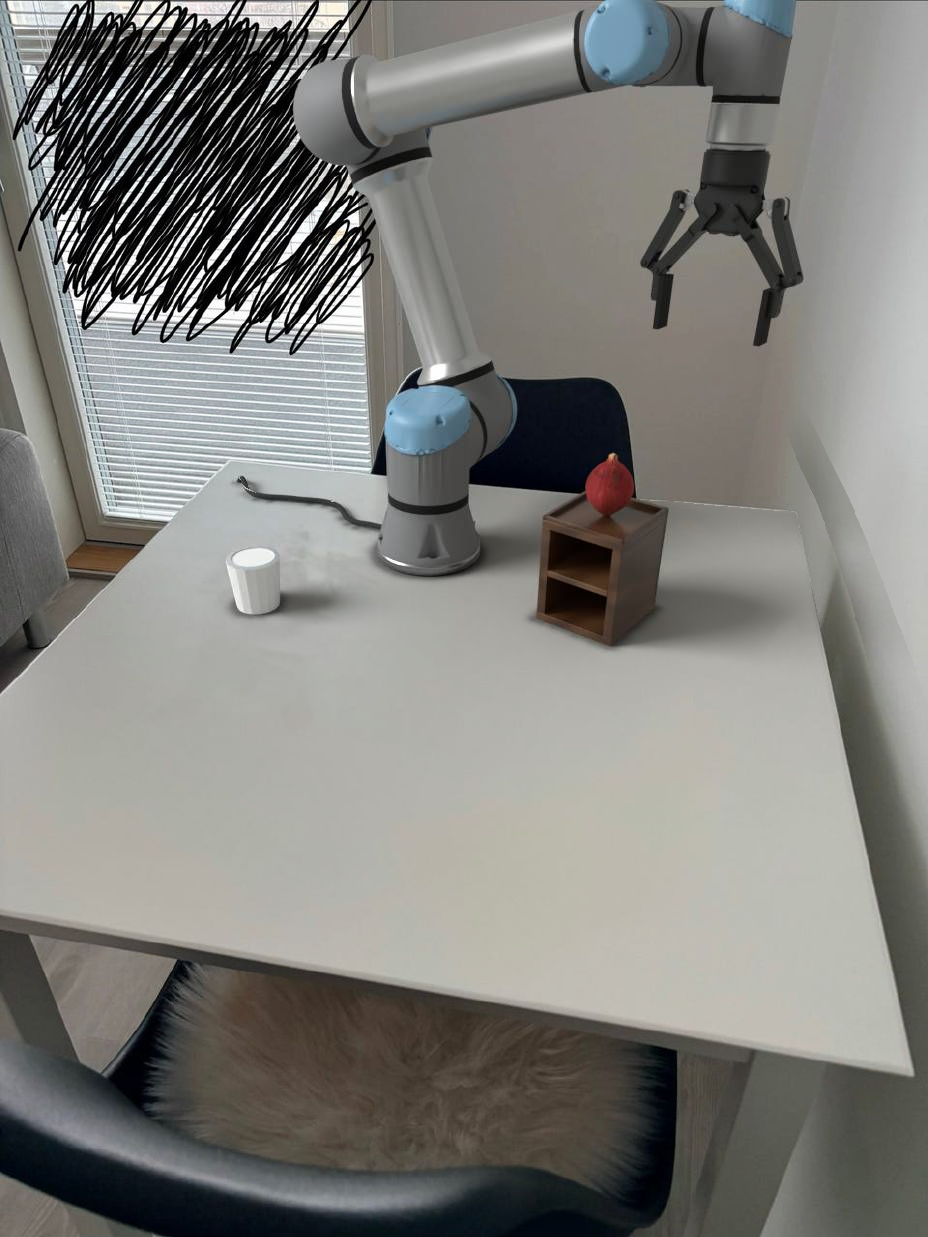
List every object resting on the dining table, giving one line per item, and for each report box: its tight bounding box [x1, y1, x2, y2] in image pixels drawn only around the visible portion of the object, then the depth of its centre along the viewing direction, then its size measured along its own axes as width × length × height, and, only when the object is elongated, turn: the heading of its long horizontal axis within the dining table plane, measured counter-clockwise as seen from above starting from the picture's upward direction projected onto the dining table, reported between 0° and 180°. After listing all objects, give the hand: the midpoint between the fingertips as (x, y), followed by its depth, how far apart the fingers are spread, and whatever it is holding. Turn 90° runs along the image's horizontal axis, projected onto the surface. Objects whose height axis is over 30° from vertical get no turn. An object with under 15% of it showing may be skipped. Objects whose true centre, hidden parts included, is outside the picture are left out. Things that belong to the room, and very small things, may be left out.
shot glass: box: [225, 545, 281, 616], centre depth 115 cm, size 7×7×7 cm
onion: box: [585, 452, 635, 516], centre depth 106 cm, size 6×6×8 cm
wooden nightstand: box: [535, 490, 670, 647], centre depth 112 cm, size 11×12×15 cm
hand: (708, 335), depth 112 cm, fingers open, 13 cm apart
